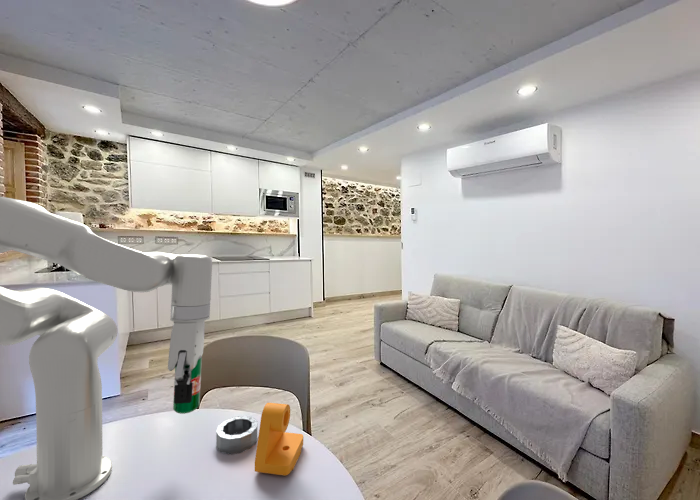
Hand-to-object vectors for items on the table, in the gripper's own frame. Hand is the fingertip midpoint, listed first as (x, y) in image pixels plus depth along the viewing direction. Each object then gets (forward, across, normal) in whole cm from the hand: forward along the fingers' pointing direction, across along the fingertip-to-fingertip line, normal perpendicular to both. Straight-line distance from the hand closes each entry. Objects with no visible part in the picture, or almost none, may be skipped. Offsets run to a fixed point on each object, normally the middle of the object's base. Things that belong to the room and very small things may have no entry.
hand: (186, 394), depth 67 cm
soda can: (+3, 0, 0) cm, 3 cm away
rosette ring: (+14, -5, +10) cm, 18 cm away
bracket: (+14, +4, +20) cm, 25 cm away
